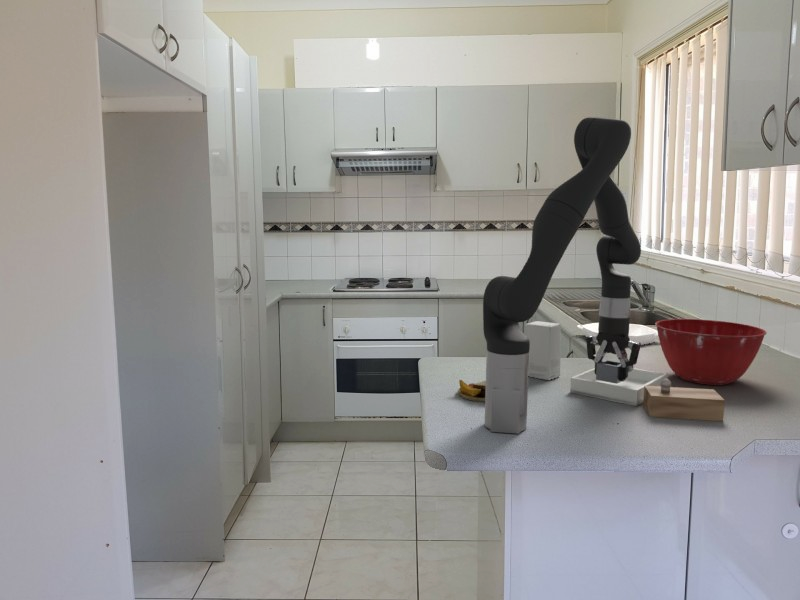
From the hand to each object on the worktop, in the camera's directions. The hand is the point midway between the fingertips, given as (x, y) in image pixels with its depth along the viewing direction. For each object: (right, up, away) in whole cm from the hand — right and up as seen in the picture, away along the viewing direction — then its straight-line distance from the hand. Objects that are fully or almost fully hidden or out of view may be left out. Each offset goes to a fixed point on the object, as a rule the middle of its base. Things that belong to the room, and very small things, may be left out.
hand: (610, 378), depth 171 cm
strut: (+3, 0, +4) cm, 5 cm away
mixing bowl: (+33, -3, +18) cm, 37 cm away
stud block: (+13, -7, -14) cm, 20 cm away
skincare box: (-14, -2, +18) cm, 23 cm away
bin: (+4, -4, +5) cm, 7 cm away
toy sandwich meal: (-33, -5, -1) cm, 33 cm away
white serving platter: (+26, +5, +73) cm, 77 cm away
